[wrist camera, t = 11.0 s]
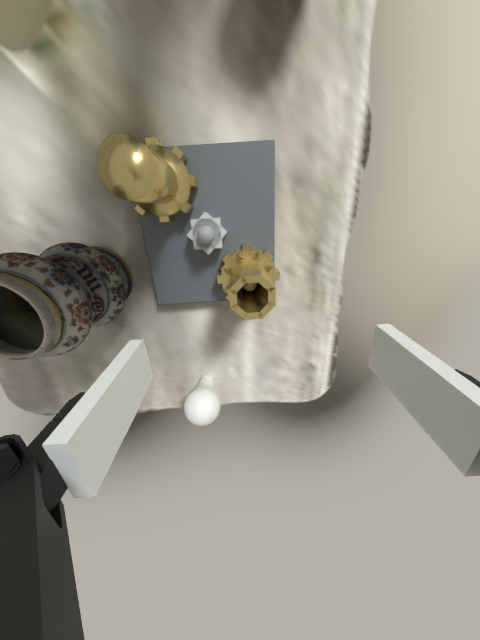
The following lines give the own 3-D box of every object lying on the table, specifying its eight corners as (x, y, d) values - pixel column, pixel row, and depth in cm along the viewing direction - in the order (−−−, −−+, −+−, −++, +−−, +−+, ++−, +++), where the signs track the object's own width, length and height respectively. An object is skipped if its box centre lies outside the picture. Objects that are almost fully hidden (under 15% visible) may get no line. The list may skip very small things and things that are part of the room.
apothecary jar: (57, 233, 36) (-97, 247, 19) (138, 245, 36) (58, 269, 20) (68, 307, 40) (-47, 369, 24) (140, 316, 41) (76, 382, 25)
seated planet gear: (122, 146, 30) (56, 106, 19) (193, 142, 30) (168, 98, 19) (138, 223, 33) (91, 226, 22) (201, 219, 33) (185, 221, 22)
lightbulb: (212, 393, 48) (206, 439, 38) (186, 380, 47) (173, 424, 37) (228, 373, 46) (226, 416, 36) (202, 358, 45) (192, 399, 35)
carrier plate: (131, 153, 32) (95, 131, 23) (272, 144, 31) (285, 118, 23) (161, 300, 40) (142, 322, 32) (272, 293, 40) (281, 313, 32)
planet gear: (215, 245, 35) (206, 258, 24) (276, 241, 35) (295, 253, 24) (221, 302, 38) (215, 336, 27) (276, 299, 38) (292, 332, 27)
